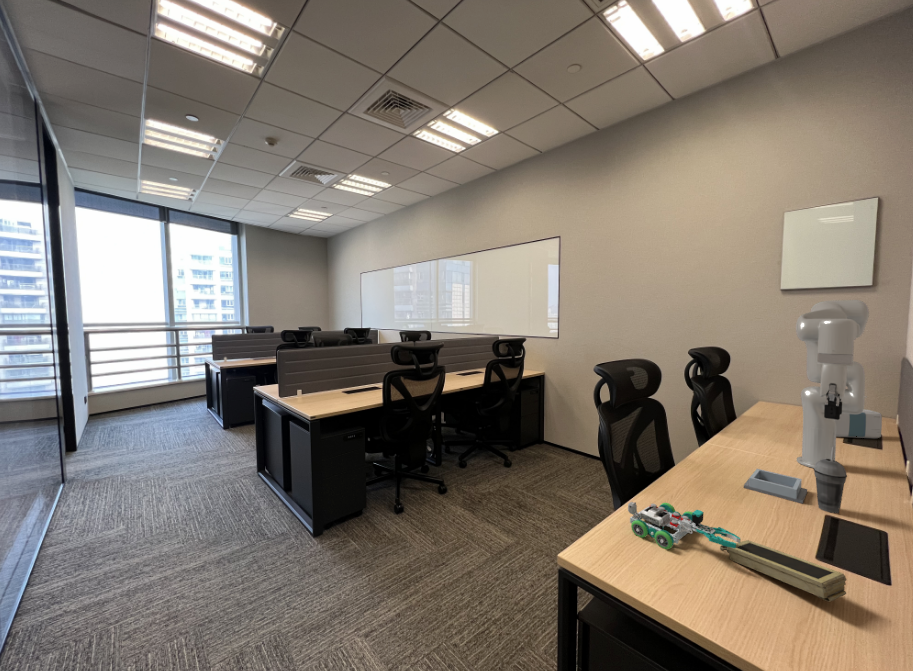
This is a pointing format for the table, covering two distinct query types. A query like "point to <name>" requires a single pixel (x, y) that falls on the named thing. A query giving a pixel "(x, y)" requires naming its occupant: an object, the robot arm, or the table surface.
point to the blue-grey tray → (777, 485)
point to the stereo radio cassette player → (859, 425)
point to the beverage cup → (829, 483)
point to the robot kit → (674, 525)
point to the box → (789, 569)
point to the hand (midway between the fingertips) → (833, 416)
